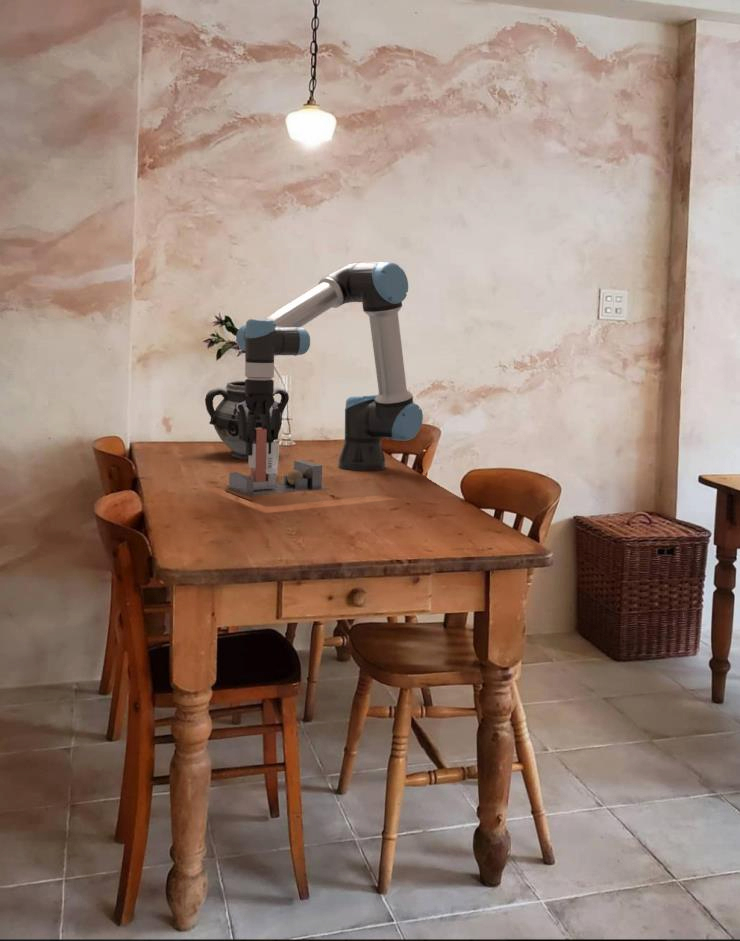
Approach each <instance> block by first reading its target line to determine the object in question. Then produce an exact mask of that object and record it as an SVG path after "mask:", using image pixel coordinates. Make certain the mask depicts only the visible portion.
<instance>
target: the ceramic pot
mask: <svg viewBox="0 0 740 941" xmlns="http://www.w3.org/2000/svg"><path fill="white" fill-rule="evenodd" d="M275 395H280V402H279V403H282V404H283V407H282V409H281V412H280V422H279V432H280V431H281V428H282V424H283V420H284V419H283V413H284V410H285V409H286V407H287V405H288V403H289V400H290V398H289V397H290V396H289V393H288V391H287V390H286V389H285V388H283V387H279V386H274V392H273V397H274V396H275ZM216 396H222V397H223V399H222V400H221V401H220V402H219V403H218V405H217V406H216V408H215V407H214V399H215V397H216ZM244 398H245V380H231V381H228V382H227V384H226V387H225V388H224V387H213V388H212V389H209V390H208V392H207V393H206V395H205V399H204V403H205V408H206V411H207V413H208V415H209V416H210V421H209V425H213V428H214V429H215V431H216V433H217V435H218V437H219V438H220V440H221V441H222V442H223V443H224V445H225V446H226V447H228V449H229V450H230V452H231V453H230V454H231V458H235V459H242V460H249V455H246V443H245V442H244V441H241V440H239V431H238V416H237V411H236V408H235V404H240V403H241V402H243V401H244ZM272 410H273V408H272V407H271V408H270V410H269V411H270V417H269V418H270V426H271V417H272ZM248 411H249V410H248V408H247V407H246V410H245V413H246V426H247V424H248ZM256 428H262V421H261V416H260V414H258V418H257V421H256Z"/></svg>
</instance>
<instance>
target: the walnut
mask: <svg viewBox="0 0 740 941" xmlns="http://www.w3.org/2000/svg"><path fill="white" fill-rule="evenodd" d="M286 475H287V480H288V482H289V483H290V484H291V485H293V486H295V479H301V478H303V475H302V473H301V472H300V471H298V470H294V469H293V470H291V471H289V472H288V474H286Z"/></svg>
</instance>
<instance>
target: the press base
mask: <svg viewBox="0 0 740 941" xmlns="http://www.w3.org/2000/svg"><path fill="white" fill-rule="evenodd" d="M293 470H298V471H300V472H301V473H302V475H303V478H301V479H295V486H293V485H291V484H290V483H289V482H288V480H287V475H288V474H284V475H283V481H276V488H272V489H259V490H253V478H251V476H247V475H245V474H242V473H238V472H229V473H228V486H227V485H225V487H226V488H228V489H230V490H234V491H237V492H239V493H241V494H244V495H246V496H249V497H252V496H263V495H273V494H283V493H285V494H286V493H293V492H304V491H316V490H325V489H328V487H326V486H324V485H323V483H322V482H323V465H322V464H319V463H315V462H311V461H307V460H304V459H299V460H293ZM225 493H227V494H231V495H232V496H236V497H237V498H240V499H243V500H246V501H248V502H252V500H250V499H248V498H245V497H243V496H241V495H238V494H236V493H233V492H230V491H228V490H225Z"/></svg>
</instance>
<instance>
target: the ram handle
mask: <svg viewBox="0 0 740 941" xmlns="http://www.w3.org/2000/svg"><path fill="white" fill-rule="evenodd" d="M266 439H267V429H265V428H255V434H254V441H253V443H255V444H256V468H251V467H250V478H253V490H259V489H272V488H276V482H277V476H276V473H274V472H271V471H266Z"/></svg>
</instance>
